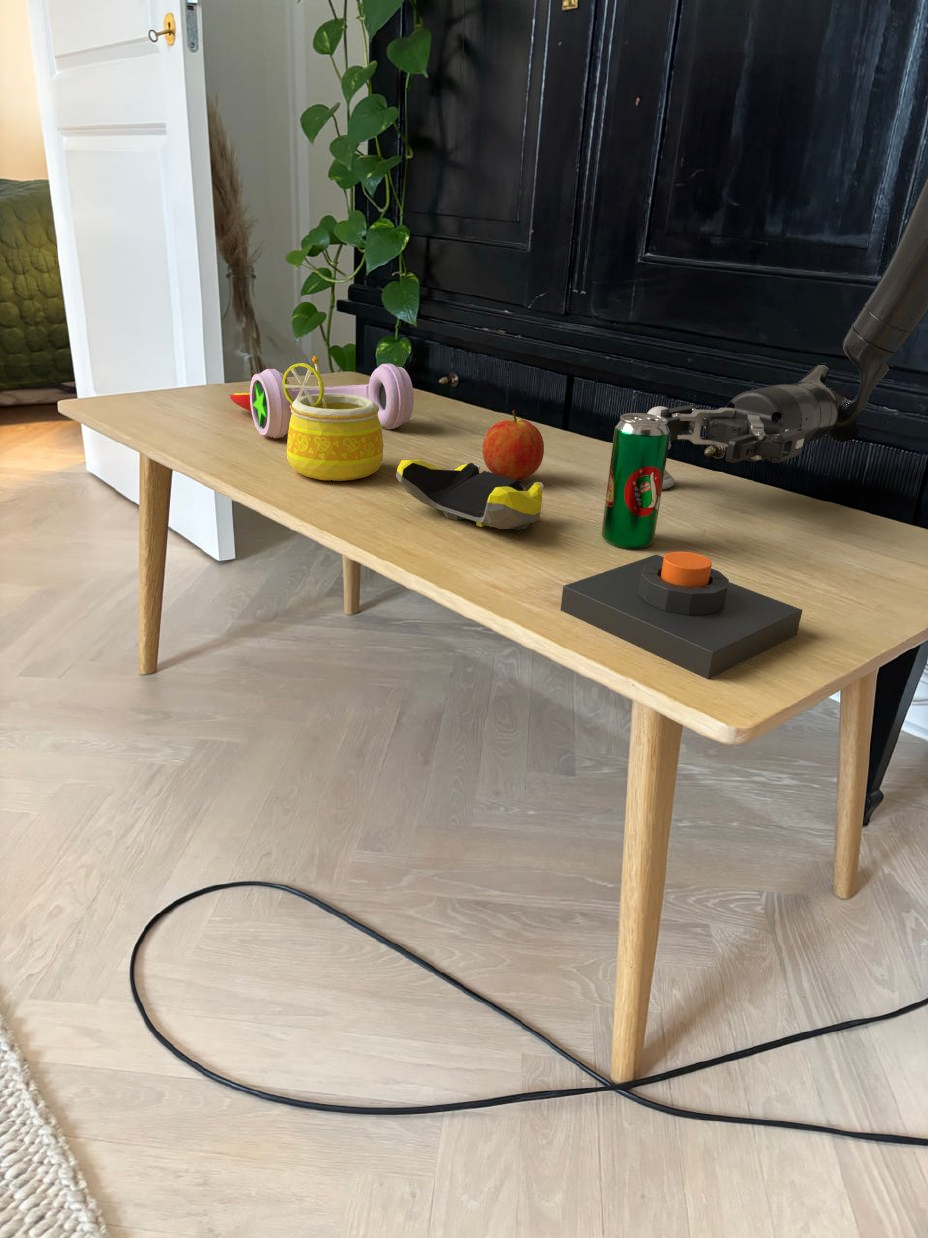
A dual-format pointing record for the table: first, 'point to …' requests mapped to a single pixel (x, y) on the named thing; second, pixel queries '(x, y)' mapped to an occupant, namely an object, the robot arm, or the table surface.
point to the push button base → (682, 616)
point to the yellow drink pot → (332, 432)
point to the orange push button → (686, 569)
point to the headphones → (273, 407)
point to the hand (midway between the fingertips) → (692, 442)
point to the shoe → (473, 494)
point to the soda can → (635, 480)
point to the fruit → (513, 448)
